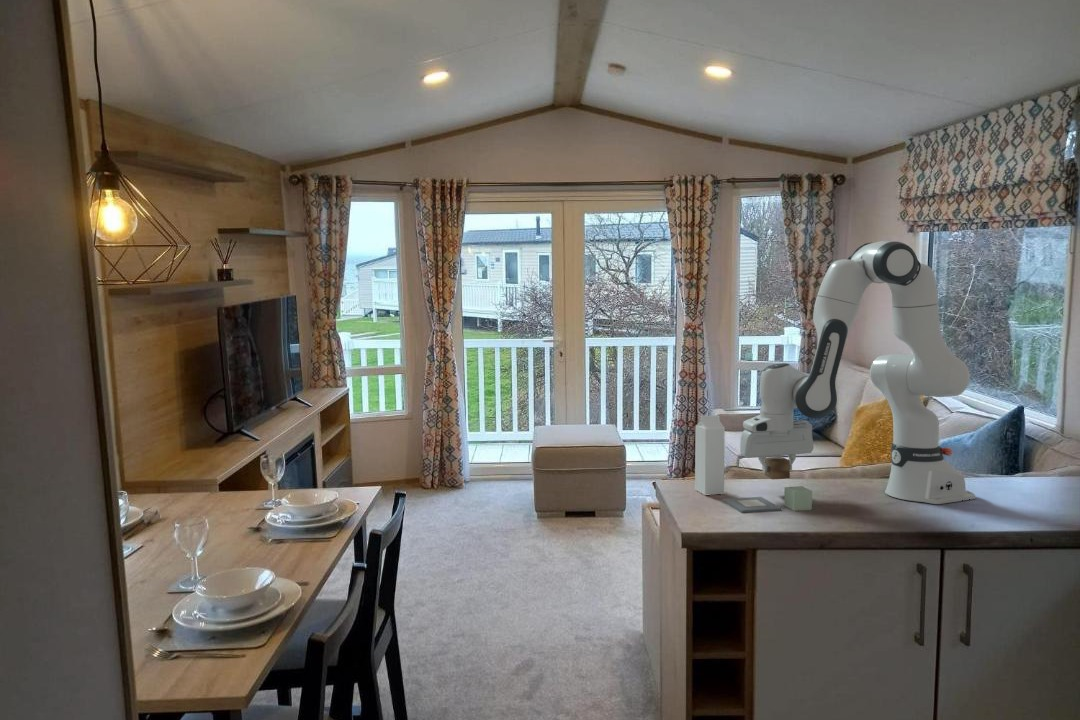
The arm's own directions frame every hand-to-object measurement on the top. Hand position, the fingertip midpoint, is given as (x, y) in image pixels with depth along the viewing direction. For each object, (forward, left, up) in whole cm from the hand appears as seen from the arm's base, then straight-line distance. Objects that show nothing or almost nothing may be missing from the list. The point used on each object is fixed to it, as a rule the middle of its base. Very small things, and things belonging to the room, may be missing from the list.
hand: (777, 470), depth 202 cm
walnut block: (0, 0, -2) cm, 2 cm away
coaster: (+12, +9, -7) cm, 17 cm away
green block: (+1, +13, -7) cm, 15 cm away
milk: (+18, -5, -7) cm, 20 cm away
